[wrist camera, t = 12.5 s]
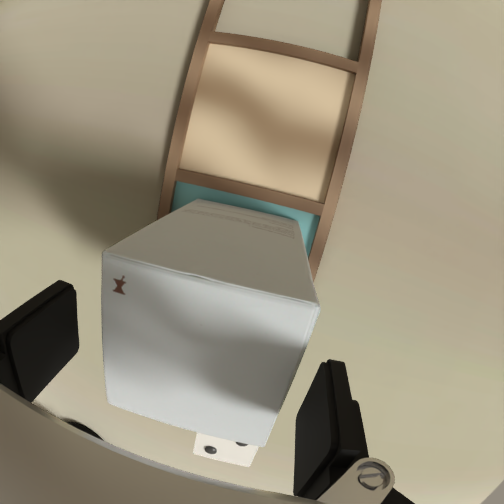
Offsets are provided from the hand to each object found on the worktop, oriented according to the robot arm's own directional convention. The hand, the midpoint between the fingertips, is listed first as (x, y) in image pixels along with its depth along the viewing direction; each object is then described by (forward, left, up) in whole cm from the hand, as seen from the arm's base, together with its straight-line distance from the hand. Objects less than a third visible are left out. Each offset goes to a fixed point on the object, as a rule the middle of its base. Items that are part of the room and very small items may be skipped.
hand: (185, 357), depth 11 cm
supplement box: (0, 0, -13) cm, 13 cm away
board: (-10, 0, -13) cm, 16 cm away
